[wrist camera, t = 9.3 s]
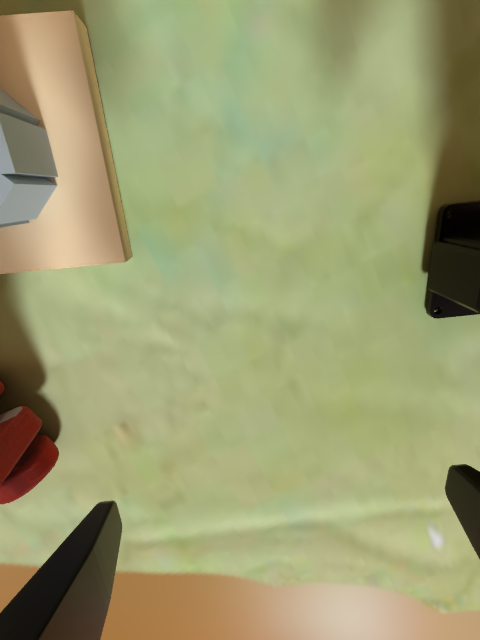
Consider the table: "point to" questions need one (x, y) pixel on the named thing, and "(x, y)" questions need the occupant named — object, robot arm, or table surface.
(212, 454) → the table surface
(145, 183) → the table surface
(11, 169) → the ring
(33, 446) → the toy fire truck
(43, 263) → the pegboard
